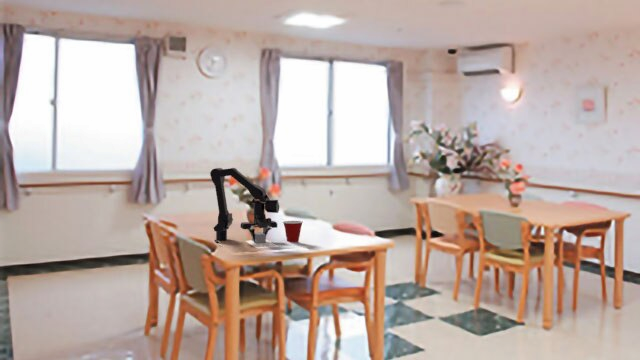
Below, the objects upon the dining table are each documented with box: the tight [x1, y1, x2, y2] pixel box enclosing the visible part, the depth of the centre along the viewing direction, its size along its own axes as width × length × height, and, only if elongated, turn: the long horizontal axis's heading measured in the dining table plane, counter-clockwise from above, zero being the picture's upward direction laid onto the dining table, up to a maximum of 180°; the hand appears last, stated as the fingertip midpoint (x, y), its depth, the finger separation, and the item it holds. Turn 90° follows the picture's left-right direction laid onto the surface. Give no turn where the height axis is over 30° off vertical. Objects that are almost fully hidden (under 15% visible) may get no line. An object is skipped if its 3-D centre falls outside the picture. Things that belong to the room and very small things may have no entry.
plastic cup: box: [282, 220, 304, 243], centre depth 314 cm, size 11×11×12 cm
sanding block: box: [251, 231, 267, 244], centre depth 310 cm, size 8×5×4 cm, turn 24°
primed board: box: [245, 238, 280, 249], centre depth 306 cm, size 20×12×1 cm, turn 24°
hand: (258, 241), depth 310 cm, fingers closed on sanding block, 5 cm apart
